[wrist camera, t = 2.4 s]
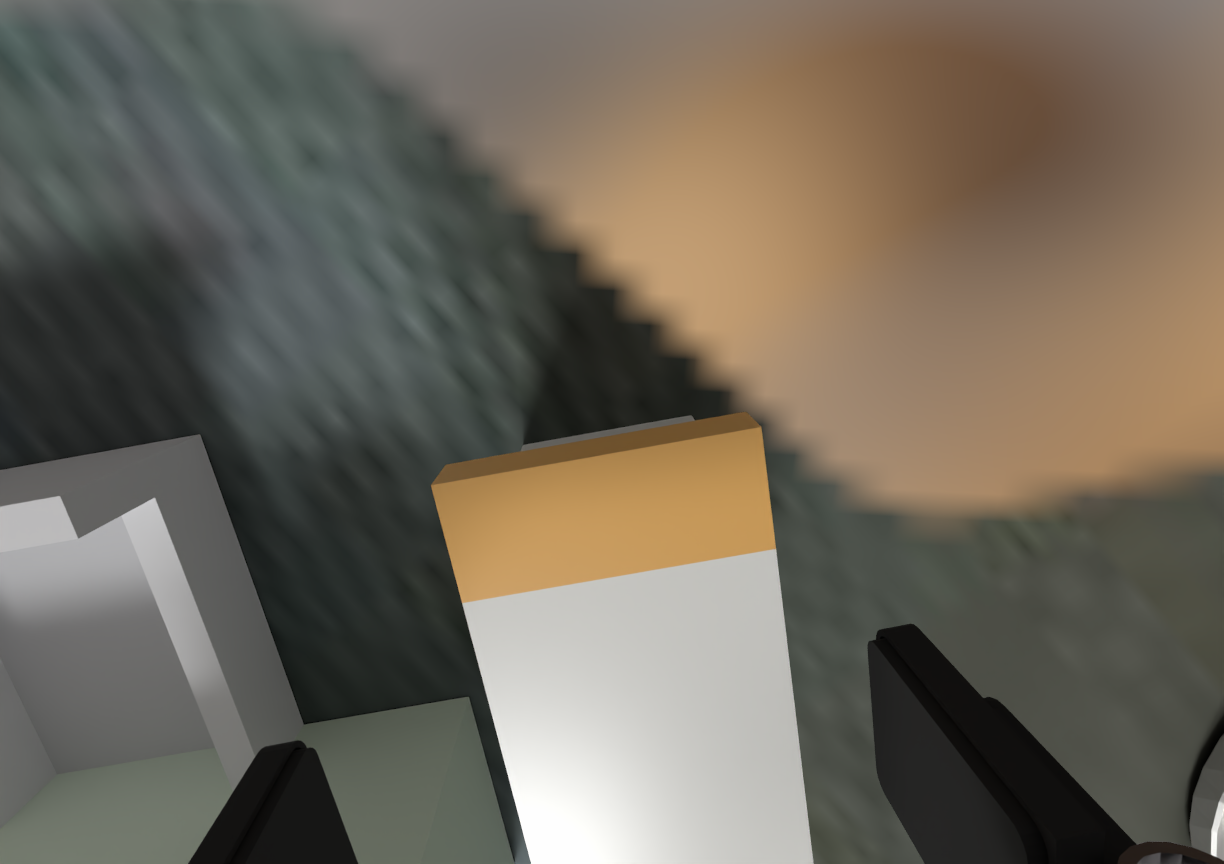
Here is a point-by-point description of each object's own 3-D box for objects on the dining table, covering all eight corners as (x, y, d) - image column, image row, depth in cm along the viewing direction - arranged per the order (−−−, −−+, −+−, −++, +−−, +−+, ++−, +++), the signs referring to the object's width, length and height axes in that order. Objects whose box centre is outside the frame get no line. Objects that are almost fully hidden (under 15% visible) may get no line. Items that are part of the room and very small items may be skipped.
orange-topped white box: (681, 347, 18) (761, 427, 10) (722, 624, 21) (816, 891, 12) (508, 378, 18) (430, 485, 10) (568, 650, 21) (550, 934, 12)
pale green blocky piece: (387, 400, 18) (157, 556, 9) (514, 863, 23) (455, 1311, 13) (-153, 497, 19) (-958, 752, 9) (76, 935, 23) (-299, 1424, 13)
